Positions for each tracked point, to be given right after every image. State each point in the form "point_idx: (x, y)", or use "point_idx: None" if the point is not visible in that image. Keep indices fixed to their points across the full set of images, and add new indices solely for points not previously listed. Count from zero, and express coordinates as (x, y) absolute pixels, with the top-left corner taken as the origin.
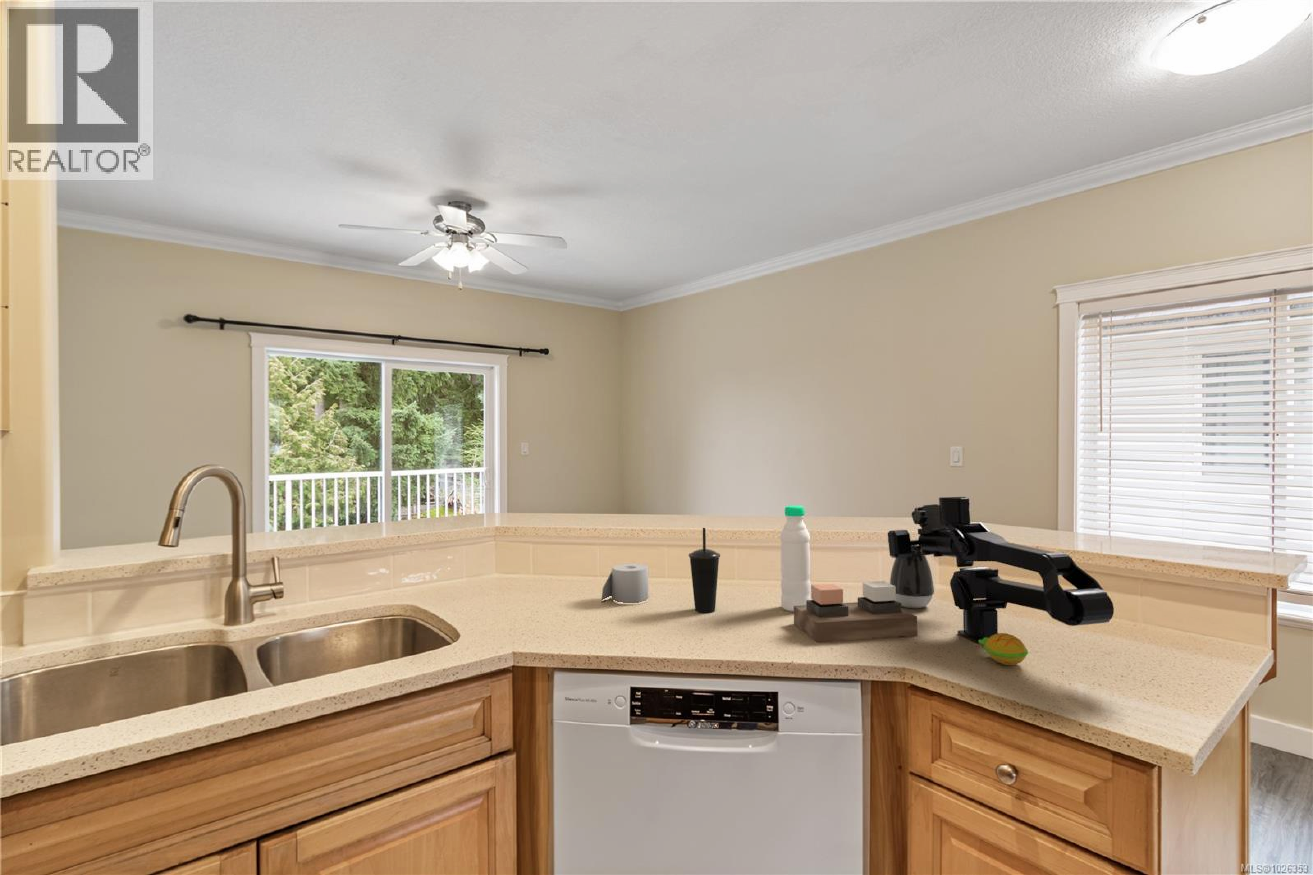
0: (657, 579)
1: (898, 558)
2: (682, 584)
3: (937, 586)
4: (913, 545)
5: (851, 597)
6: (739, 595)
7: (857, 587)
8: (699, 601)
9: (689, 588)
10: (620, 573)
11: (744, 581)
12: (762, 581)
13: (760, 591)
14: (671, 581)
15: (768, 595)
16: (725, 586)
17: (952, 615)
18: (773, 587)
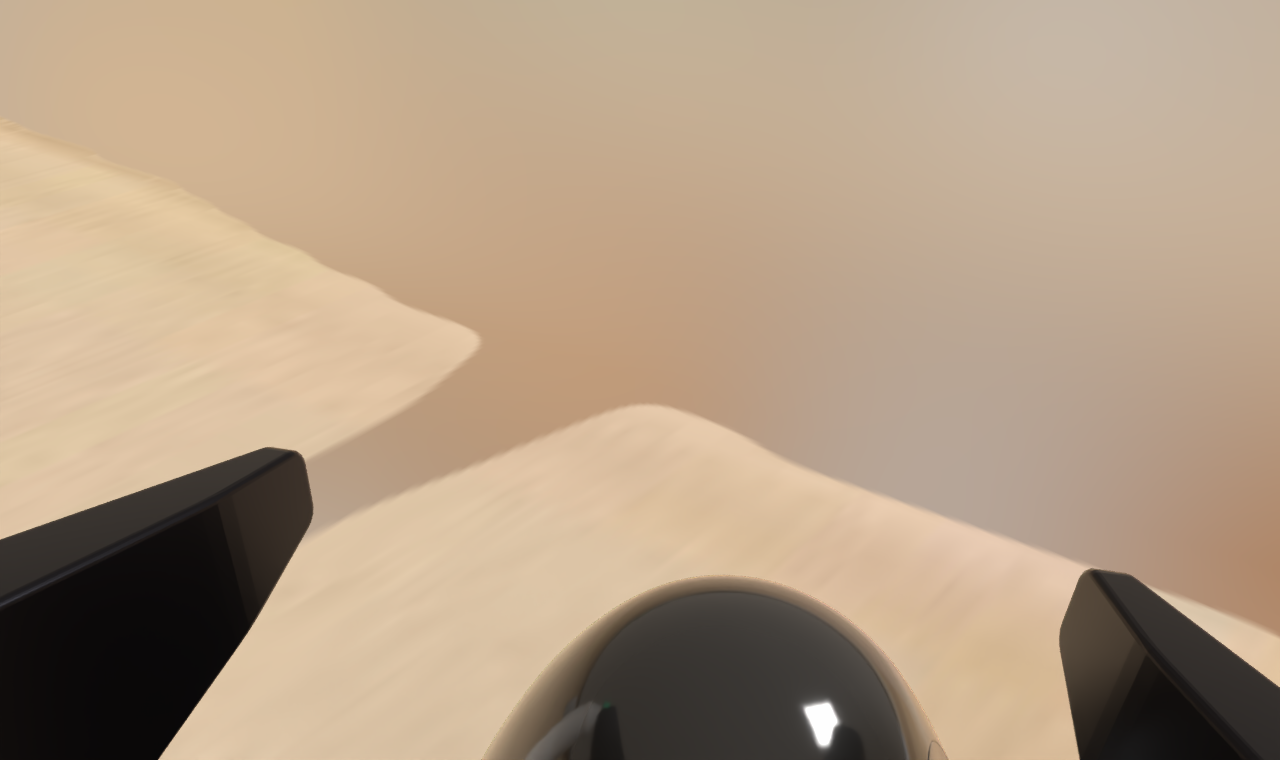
0: (98, 182)
1: (492, 750)
2: (77, 227)
3: None
4: (739, 747)
5: (444, 619)
6: (20, 368)
7: (679, 489)
8: None
9: (23, 257)
10: None
11: (306, 269)
12: (366, 289)
13: (176, 363)
14: (100, 202)
15: (117, 413)
16: (161, 281)
17: None
18: (301, 348)
